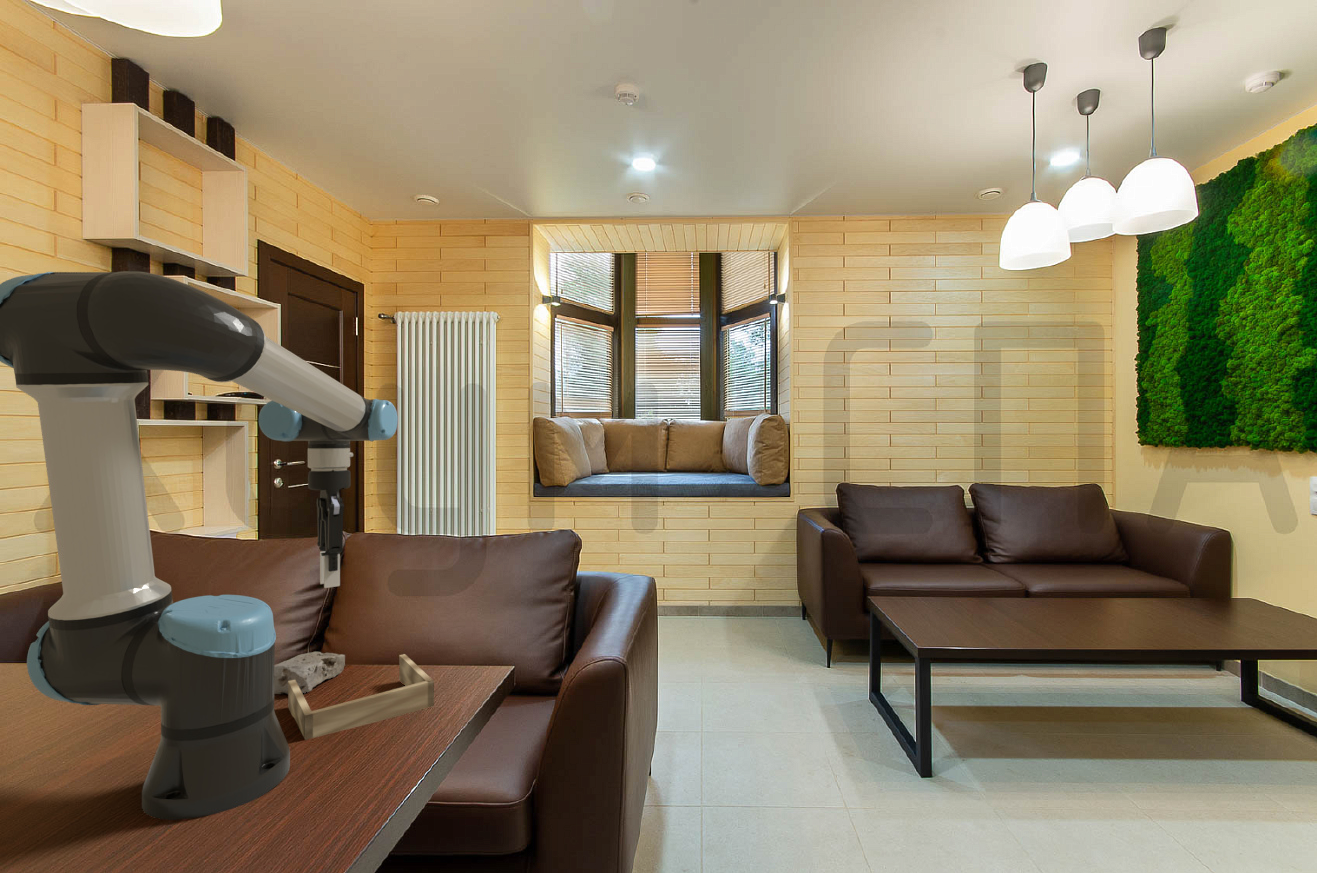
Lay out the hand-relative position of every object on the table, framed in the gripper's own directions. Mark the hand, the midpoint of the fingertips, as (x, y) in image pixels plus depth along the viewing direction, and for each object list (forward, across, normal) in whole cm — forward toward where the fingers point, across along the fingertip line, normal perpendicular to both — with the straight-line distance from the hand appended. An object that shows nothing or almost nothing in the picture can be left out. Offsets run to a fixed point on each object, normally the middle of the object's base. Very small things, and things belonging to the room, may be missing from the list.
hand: (329, 584), depth 118 cm
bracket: (+17, -25, 0) cm, 30 cm away
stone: (+14, -10, +1) cm, 17 cm away
